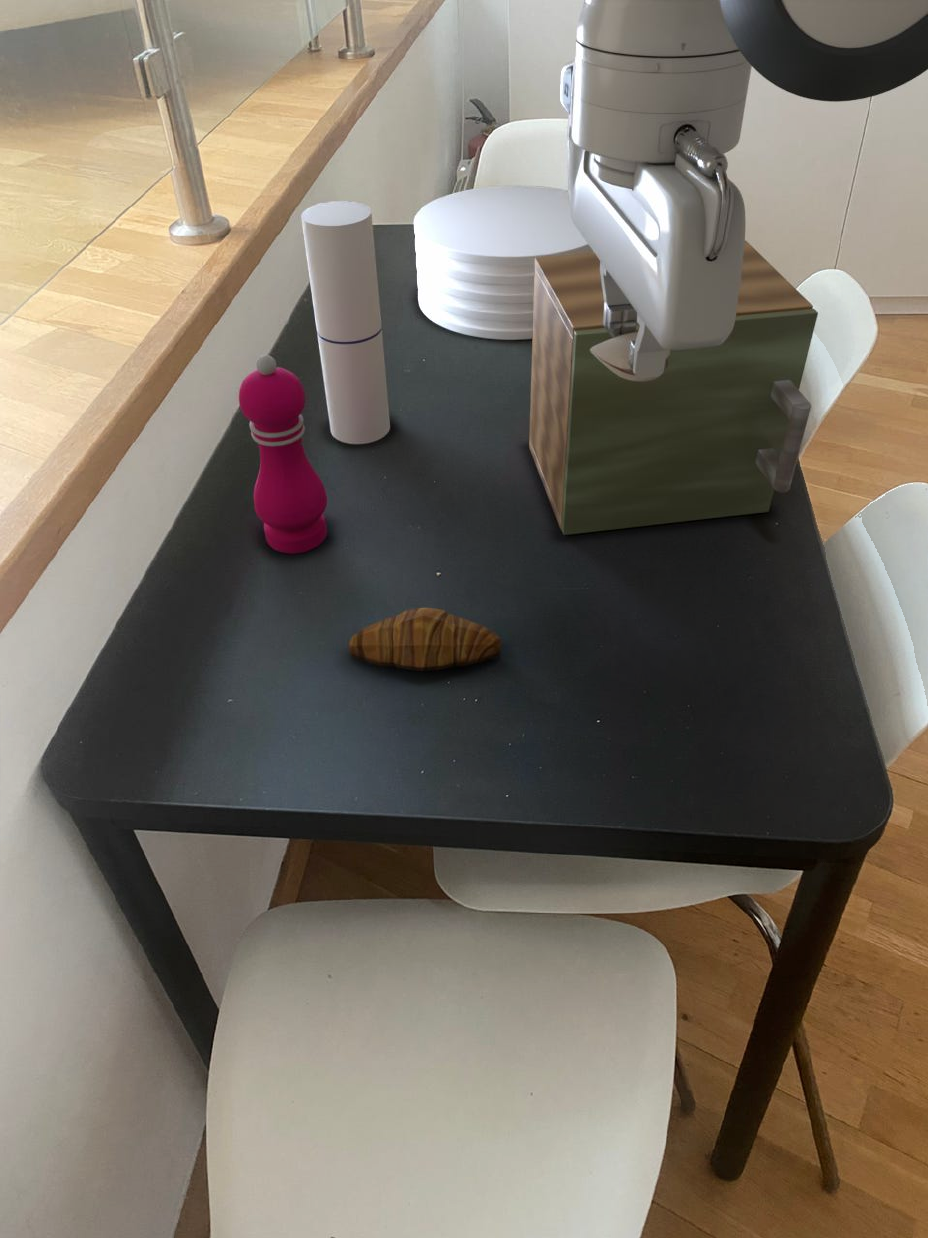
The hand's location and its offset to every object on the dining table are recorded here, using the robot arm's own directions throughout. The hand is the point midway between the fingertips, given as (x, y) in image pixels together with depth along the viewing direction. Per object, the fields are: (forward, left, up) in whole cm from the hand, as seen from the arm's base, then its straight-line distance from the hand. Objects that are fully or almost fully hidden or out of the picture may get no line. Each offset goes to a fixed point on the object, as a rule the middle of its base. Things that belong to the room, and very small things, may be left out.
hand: (631, 351), depth 57 cm
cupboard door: (-13, -19, -31) cm, 39 cm away
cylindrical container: (+17, -47, -31) cm, 58 cm away
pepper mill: (+25, -27, -31) cm, 48 cm away
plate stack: (-8, -80, -31) cm, 86 cm away
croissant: (+14, -7, -31) cm, 35 cm away
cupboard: (-13, -31, -31) cm, 46 cm away
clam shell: (0, 0, -2) cm, 2 cm away
